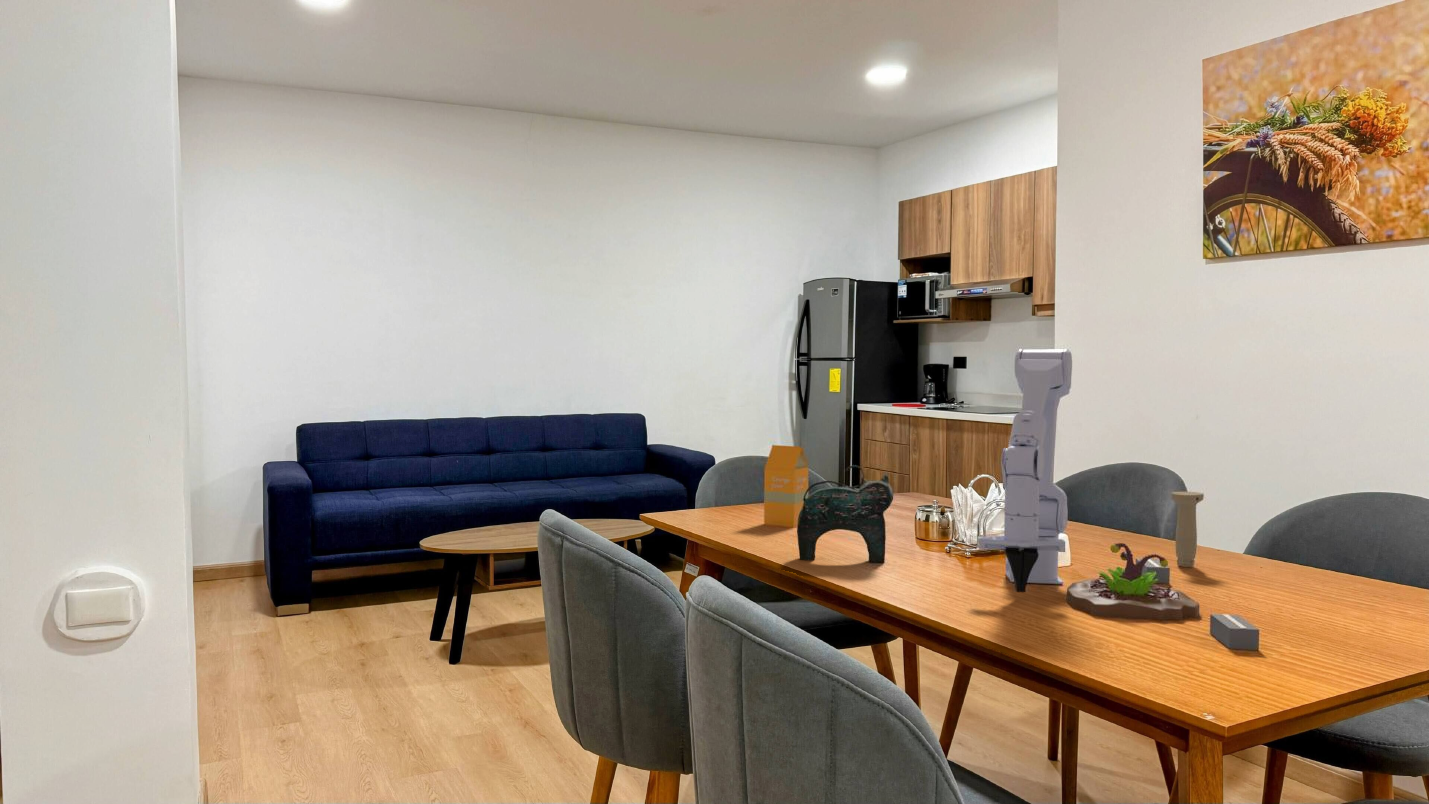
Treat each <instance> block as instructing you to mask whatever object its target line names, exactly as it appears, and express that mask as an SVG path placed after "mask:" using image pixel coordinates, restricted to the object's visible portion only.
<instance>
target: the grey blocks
mask: <svg viewBox="0 0 1429 804" xmlns="http://www.w3.org/2000/svg"><path fill="white" fill-rule="evenodd" d="M1141 559H1142V558H1135V564H1137V563H1138V562H1139V561H1141ZM1154 571H1155V572H1156V575H1155V576H1154V577H1153V579H1152V580H1155V579H1159V580H1158V581H1156V583H1155V584H1168V585H1169V584H1170V580H1171V579H1170V576H1171V573H1170V572H1171V567H1169V566H1168V565H1167V566H1166V567H1162V566H1161V564H1160V560H1159V558H1150V559H1149V560H1148V561H1147V562H1146V563H1145V565H1144V567H1143V570H1142V575H1143V574H1145V573H1148V572H1154ZM1142 575H1141V576H1142ZM1209 617H1210V618H1209V619H1210V620H1209V634H1210V635H1212V636H1213V637H1214V638H1215V639H1216V640H1218V641H1219V642H1220V643H1221V644H1222V645H1223V646H1225V647H1226V648H1228V649H1229V650H1249V651H1250V650H1252V651H1259V650H1260V644H1259V643H1260V628H1258V627H1256V626H1254V625H1253V624H1252V623H1250V622H1249V621H1247V620H1246V619H1245V618H1243V617H1242V616H1240V615H1238V614H1228V613H1227V614H1224V613H1223V614H1222V613H1221V614H1220V613H1218V614H1217V613H1210V614H1209Z"/></svg>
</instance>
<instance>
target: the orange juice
mask: <svg viewBox="0 0 1429 804" xmlns="http://www.w3.org/2000/svg"><path fill="white" fill-rule="evenodd" d="M767 457H768V458H767V461H766V462H765V463H766V464H765V466H764V480H763V481H764V484H763V485H764V491H763V502H764V503H763V504H764V507H763V515H764V516H763V517H764V518H763V520H764V521H763V523H764V525H770V526H775V527H776V526H777V527H785V528H797V527H798V517H799V514H800V511H801V509H802V507H803V503H804V501H803V498H804V495H805V493H806V491H807V489H808V488H809V468H810V467H809V465H808V461H807V459H806V455H805V453H804V449H803V447H802V446H792V445H775V444H772V445H771V449H770V451H769V455H768V456H767ZM808 497H809V491H808V492H807V494H806V497H805V499H806V498H808Z"/></svg>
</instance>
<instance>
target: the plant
mask: <svg viewBox="0 0 1429 804" xmlns="http://www.w3.org/2000/svg"><path fill="white" fill-rule="evenodd" d="M1122 548H1124V549H1125V551H1122V552H1121V553H1120V555H1119V557H1120V559H1121V560H1122V561H1126V565H1125V567H1124V568H1122V567H1120V566H1116V567H1115V569H1114V570H1113V569H1111V568H1110V567H1109V568H1107V571H1108V572H1109V573H1110V574H1109V575H1111V577H1110V576H1109V575H1108V574H1107V573H1105V572H1103V571H1099V570H1097V572H1098V574H1099V576H1098V577H1099V578H1092V579H1091V578H1090V579H1085V580H1081V581H1077V582H1072V583H1071V584H1070V585H1069V586H1068V587H1067V589H1066V601H1067V603H1068V604H1069V605H1070V606H1071V607H1072V608H1074V609H1078V610H1080V611H1081V610H1082V611H1085V612H1087V613H1088V614H1090V615H1091V616H1093V617H1102V618H1112V619H1113V618H1116V619H1127V620H1128V619H1129V620H1150V621H1157V622H1158V621H1159V622H1165V621H1175V622H1176V621H1177V622H1180V621H1182V620H1183V619H1185V618H1186V619H1197V618H1199V616H1200V603H1199V602H1198V601H1196V600H1194V599H1193V598H1191V597H1190V596H1188V594H1185V593H1184V592H1183V591H1181V590H1176V589H1171V586H1161V585H1157V583H1156V581H1158V580H1159V579H1155V580H1152V579H1153V577H1154V576H1155V575H1156V572H1155V571H1154V572H1148V573H1145V574H1143V575H1142V570H1143V567H1144V565H1145V563H1146V562H1147V561H1148V560H1149V559H1155V558H1156V559H1158V560H1159V561H1160V564H1161V566H1162V567H1166V566H1168V564H1169V561H1168V559H1166V558H1165V557H1164V556H1161V555H1159V554H1156V553H1155V554H1154V553H1153V554H1148V555H1145V556H1144V557H1142V558H1140V559H1141V561H1139V562H1138V563H1137V564H1136V563H1134V558H1133V557H1134V556H1133V553H1132V551H1131V549H1130V547H1129V546H1128V545H1127V544H1126V543H1123V542H1116V543H1113V544H1111V546H1110V551H1111V553H1113V554H1117V553H1118V552H1120V550H1121V549H1122ZM1141 575H1142V576H1141Z"/></svg>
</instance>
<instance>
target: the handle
mask: <svg viewBox="0 0 1429 804" xmlns="http://www.w3.org/2000/svg"><path fill="white" fill-rule="evenodd" d="M1204 495H1205V494H1204V493H1202V492H1198V491H1197V492H1196V491H1173V492H1171V493H1170V498H1171V500H1172V501H1174V502H1175V503H1177V515H1176V516H1177V518H1176V526H1175V527H1176V529H1175V545H1174V546H1175V555H1176V557H1177V559H1176V565H1177V566H1178V567H1181V568H1190V569H1191V568H1193V567H1194V566H1195V561H1196V560H1195V559H1196V554H1197V547H1198V546H1197V545H1198V543H1197V542H1198V539H1197V538H1198V532H1197V530H1198V529H1197V505H1198V504H1199V503H1200V502H1202V501H1203V500H1204Z"/></svg>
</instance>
